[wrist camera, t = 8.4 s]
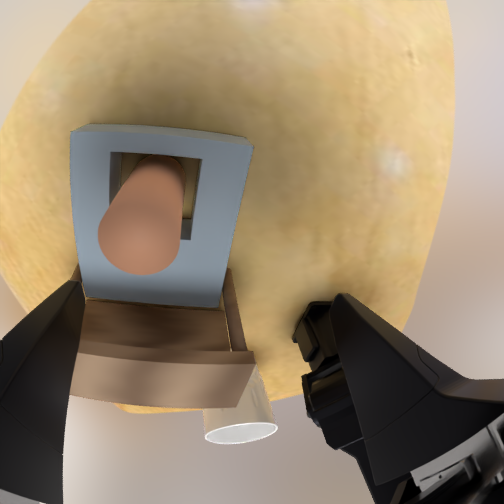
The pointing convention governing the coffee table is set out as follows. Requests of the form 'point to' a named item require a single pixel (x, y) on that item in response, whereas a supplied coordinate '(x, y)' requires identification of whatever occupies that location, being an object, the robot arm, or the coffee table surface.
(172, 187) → the peg
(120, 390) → the brown wooden table shape
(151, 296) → the socket block
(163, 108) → the coffee table surface
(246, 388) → the white cup
